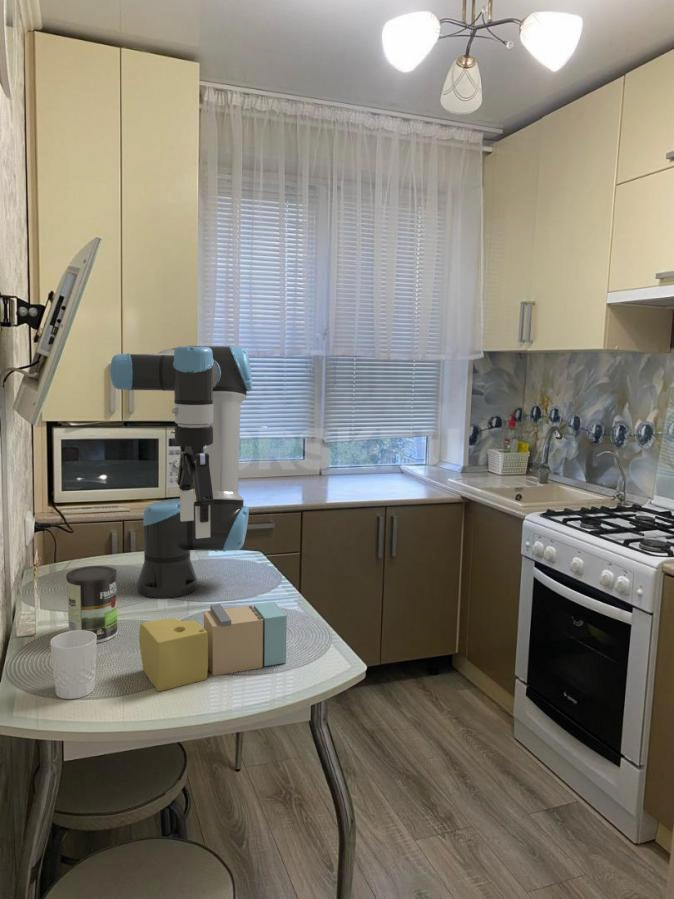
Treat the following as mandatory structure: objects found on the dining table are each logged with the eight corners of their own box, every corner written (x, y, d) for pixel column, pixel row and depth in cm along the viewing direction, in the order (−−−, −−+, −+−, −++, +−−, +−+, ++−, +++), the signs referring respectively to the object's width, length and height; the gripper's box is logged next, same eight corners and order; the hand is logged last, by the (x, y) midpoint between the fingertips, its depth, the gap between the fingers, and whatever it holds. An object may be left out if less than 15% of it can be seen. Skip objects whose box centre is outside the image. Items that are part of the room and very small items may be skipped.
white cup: (91, 700, 122) (89, 647, 120) (45, 701, 121) (43, 648, 120) (102, 679, 129) (101, 629, 128) (60, 680, 129) (58, 630, 127)
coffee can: (126, 627, 154) (125, 567, 151) (102, 646, 144) (100, 582, 141) (85, 623, 156) (83, 563, 154) (58, 641, 146) (56, 578, 144)
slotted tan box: (203, 657, 140) (203, 606, 138) (250, 649, 144) (250, 600, 142) (213, 677, 131) (213, 622, 130) (263, 668, 135) (263, 616, 134)
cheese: (190, 659, 139) (189, 612, 138) (210, 681, 130) (210, 631, 129) (139, 670, 133) (138, 622, 132) (156, 694, 124) (156, 642, 123)
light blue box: (253, 649, 143) (253, 604, 142) (273, 646, 145) (274, 601, 144) (264, 666, 136) (265, 618, 135) (285, 662, 138) (286, 615, 136)
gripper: (162, 418, 145) (163, 515, 148) (189, 433, 122) (190, 547, 126) (197, 417, 148) (198, 512, 151) (230, 432, 126) (230, 543, 129)
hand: (194, 528), depth 138 cm, fingers open, 13 cm apart
